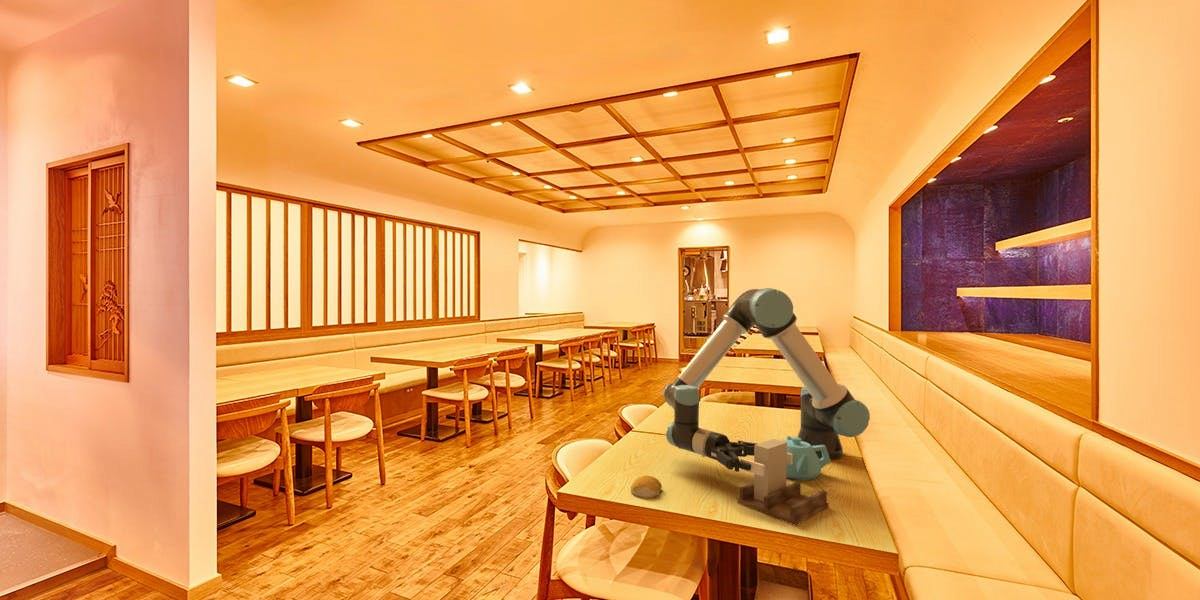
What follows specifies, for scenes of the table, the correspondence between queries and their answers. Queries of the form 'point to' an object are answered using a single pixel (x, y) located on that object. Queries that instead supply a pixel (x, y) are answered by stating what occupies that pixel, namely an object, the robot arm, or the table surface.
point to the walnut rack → (786, 503)
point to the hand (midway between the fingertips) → (778, 464)
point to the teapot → (805, 459)
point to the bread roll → (646, 487)
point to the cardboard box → (770, 467)
